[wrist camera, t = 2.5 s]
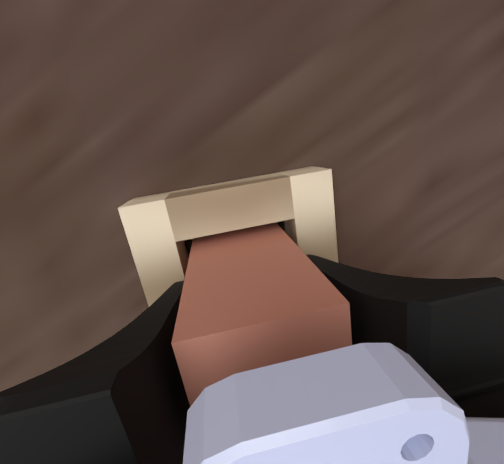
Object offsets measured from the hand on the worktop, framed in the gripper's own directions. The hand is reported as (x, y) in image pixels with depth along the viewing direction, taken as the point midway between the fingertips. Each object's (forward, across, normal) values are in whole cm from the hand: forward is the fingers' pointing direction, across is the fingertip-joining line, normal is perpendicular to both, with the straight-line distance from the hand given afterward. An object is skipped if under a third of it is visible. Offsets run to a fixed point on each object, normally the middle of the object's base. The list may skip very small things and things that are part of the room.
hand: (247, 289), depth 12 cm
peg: (+3, 0, 0) cm, 3 cm away
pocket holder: (+3, 0, 0) cm, 3 cm away
